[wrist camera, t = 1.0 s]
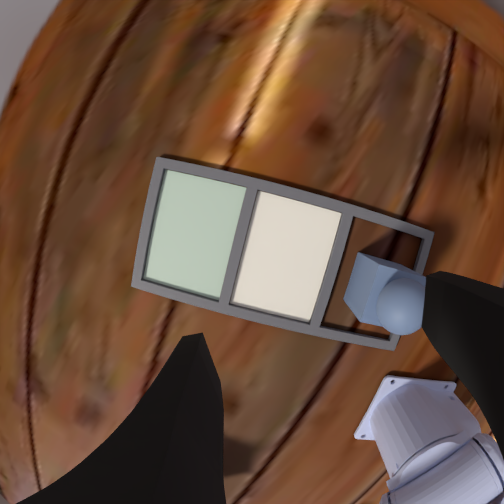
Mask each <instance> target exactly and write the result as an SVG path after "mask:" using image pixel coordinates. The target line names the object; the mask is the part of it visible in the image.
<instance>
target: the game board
mask: <svg viewBox="0 0 504 504" xmlns="http://www.w3.org/2000/svg"><path fill="white" fill-rule="evenodd" d="M165 169H168V170H165ZM170 170H173V171H170ZM175 171H178V172H175ZM180 172H183V173H180ZM184 173H187V174H184ZM189 174H192V175H189ZM194 175H197V176H194ZM198 176H201V177H198ZM203 177H206V178H203ZM207 178H210V179H207ZM212 179H214V180H212ZM216 180H219V181H216ZM162 181H163V182H162ZM220 181H223V182H220ZM225 182H227V183H225ZM229 183H232V184H229ZM233 184H236V185H233ZM161 185H162V186H161ZM237 185H240V186H237ZM242 186H244V187H242ZM246 187H247V189H246ZM160 189H161V190H160ZM257 190H260V191H258V193H257ZM262 191H264V192H262ZM245 192H246V193H245ZM266 192H268V193H266ZM270 193H272V194H270ZM256 194H257V197H256ZM273 194H276V195H273ZM277 195H280V196H277ZM244 196H245V197H244ZM281 196H284V197H281ZM285 197H287V198H285ZM158 198H159V199H158ZM255 198H256V201H255ZM289 198H291V199H289ZM292 199H295V200H292ZM296 200H299V201H296ZM300 201H302V202H300ZM254 202H255V205H254ZM304 202H306V203H304ZM307 203H309V204H307ZM311 204H313V205H311ZM314 205H317V206H314ZM253 206H254V209H253ZM318 206H320V207H318ZM156 207H157V208H156ZM321 207H324V208H321ZM325 208H327V209H325ZM328 209H331V210H328ZM252 210H253V213H252ZM332 210H334V211H332ZM335 211H338V212H335ZM155 212H156V213H155ZM339 212H341V213H342V214H341V213H339ZM251 214H252V216H251ZM353 216H354V217H358V218H361V219H364V220H367V221H371V222H374V223H377V224H380V225H383V226H386V227H390V228H393V229H396V230H399V231H402V232H405V233H408V234H411V235H414V236H417V237H420V238H422V240H421V244H420V248H419V251H418V255H417V258H416V261H415V265H414V268H413V271H415V272H417V273H419V274H421V275H422V274H423V271H424V268H425V265H426V261H427V258H428V254H429V251H430V247H431V244H432V240H433V236H434V232H432V231H429V230H427V229H424V228H421V227H418V226H415V225H413V224H410V223H407V222H404V221H401V220H398V219H395V218H392V217H389V216H386V215H383V214H380V213H377V212H374V211H371V210H367V209H364V208H361V207H358V206H355V205H351V204H348V203H345V202H342V201H338V200H335V199H331V198H328V197H325V196H321V195H318V194H314V193H310V192H307V191H303V190H300V189H296V188H292V187H289V186H285V185H281V184H277V183H273V182H269V181H265V180H261V179H257V178H253V177H249V176H245V175H241V174H237V173H232V172H228V171H224V170H219V169H215V168H210V167H206V166H201V165H196V164H191V163H186V162H182V161H177V160H171V159H166V158H161V157H157V158H156V161H155V165H154V169H153V174H152V178H151V182H150V186H149V191H148V195H147V200H146V204H145V209H144V214H143V219H142V224H141V229H140V235H139V240H138V246H137V252H136V258H135V264H134V270H133V277H132V284H131V287H134V288H137V289H141V290H144V291H147V292H150V293H153V294H157V295H160V296H163V297H167V298H170V299H173V300H177V301H180V302H183V303H187V304H190V305H194V306H197V307H201V308H205V309H208V310H212V311H216V312H219V313H223V314H227V315H230V316H234V317H238V318H242V319H246V320H250V321H254V322H258V323H262V324H266V325H270V326H274V327H279V328H283V329H287V330H291V331H296V332H300V333H305V334H309V335H314V336H319V337H323V338H328V339H333V340H338V341H343V342H348V343H353V344H358V345H364V346H369V347H374V348H380V349H386V350H392V351H394V350H395V348H396V345H397V343H398V340H399V338H400V335H397V334H393V333H390V336H389V338H388V339H384V338H379V337H374V336H369V335H364V334H359V333H354V332H349V331H344V330H339V329H335V328H330V327H325V326H321V325H320V324H321V321H322V318H323V315H324V312H325V309H326V306H327V303H328V300H329V297H330V294H331V291H332V287H333V284H334V281H335V278H336V275H337V271H338V268H339V265H340V261H341V258H342V254H343V251H344V247H345V244H346V240H347V237H348V233H349V229H350V226H351V222H352V218H353ZM340 217H341V218H340ZM250 218H251V220H250ZM339 221H340V222H339ZM249 222H250V224H249ZM338 225H339V226H338ZM152 226H153V227H152ZM248 226H249V228H248ZM236 228H237V229H236ZM337 228H338V229H337ZM247 230H248V232H247ZM235 232H236V233H235ZM336 232H337V233H336ZM246 234H247V236H246ZM234 236H235V237H234ZM335 236H336V237H335ZM150 237H151V238H150ZM245 238H246V240H245ZM334 239H335V240H334ZM233 240H234V241H233ZM149 242H150V243H149ZM244 242H245V244H244ZM333 243H334V244H333ZM232 244H233V245H232ZM243 246H244V248H243ZM332 246H333V248H332ZM148 247H149V248H148ZM231 248H232V249H231ZM242 250H243V252H242ZM331 250H332V251H331ZM230 252H231V253H230ZM147 253H148V254H147ZM330 253H331V255H330ZM241 254H242V256H241ZM329 257H330V258H329ZM240 258H241V260H240ZM328 260H329V261H328ZM239 262H240V264H239ZM145 264H146V265H145ZM327 264H328V265H327ZM238 266H239V268H238ZM326 267H327V268H326ZM226 269H227V270H226ZM144 270H145V271H144ZM237 270H238V272H237ZM325 270H326V272H325ZM225 273H226V274H225ZM236 274H237V276H236ZM324 274H325V275H324ZM224 277H225V278H224ZM323 277H324V278H323ZM235 278H236V280H235ZM322 280H323V281H322ZM152 281H153V282H152ZM155 282H156V283H155ZM234 282H235V284H234ZM162 284H163V285H162ZM321 284H322V285H321ZM169 286H170V287H169ZM233 286H234V288H233ZM172 287H173V288H172ZM320 287H321V288H320ZM179 289H180V290H179ZM221 290H222V291H221ZM232 290H233V292H232ZM319 290H320V291H319ZM186 291H187V292H186ZM193 293H194V294H193ZM318 293H319V294H318ZM197 294H198V295H197ZM220 294H221V295H220ZM231 294H232V297H231ZM204 296H205V297H204ZM317 297H318V298H317ZM211 298H212V299H211ZM219 298H220V299H219ZM230 298H231V301H230ZM215 299H216V300H215ZM316 300H317V301H316ZM229 302H230V303H231V304H230V303H229ZM315 303H316V304H315ZM234 304H235V305H234ZM314 306H315V307H314ZM245 307H246V308H245ZM249 308H250V309H249ZM253 309H254V310H253ZM313 309H314V310H313ZM257 310H258V311H257ZM261 311H262V312H261ZM265 312H266V313H265ZM312 312H313V313H312ZM269 313H270V314H269ZM273 314H274V315H273ZM311 315H312V316H311ZM286 317H287V318H286ZM290 318H291V319H290ZM310 318H311V319H310ZM294 319H295V320H294ZM303 321H304V322H303ZM309 321H310V322H309ZM307 322H308V323H307Z"/></svg>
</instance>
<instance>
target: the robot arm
mask: <svg viewBox="0 0 504 504" xmlns="http://www.w3.org/2000/svg"><path fill="white" fill-rule="evenodd" d="M421 327H422V328H423V330H424V332H425V333H426V335H427V337H428V338H429V340H430V342H431V343H432V345H433V346H434V348H435V349H436V351H437V352H438V353H439V354H440V356H441V357H442V358H443V359H444V360H445V362H446V363H447V364H448V365H449V367H450V368H451V369H452V370H453V371H454V373H455V374H456V375H457V376H458V378H459V379H460V380H461V381H462V383H463V384H464V385H465V386H466V388H467V389H468V390H469V391H470V393H471V394H472V396H473V397H474V399H475V400H476V402H477V404H478V405H479V407H480V409H481V411H482V412H483V414H484V416H485V418H486V420H487V422H488V424H489V426H490V428H491V430H492V432H493V434H494V436H495V439H496V441H497V443H496V441H495V440H494V439H493V438H492V437H491V436H490V435H488V434H484V433H482V434H481V429H480V425H479V423H478V421H477V419H476V418H475V417H474V416H473V415H472V413H471V412H470V411H469V410H468V409H467V408H466V406H465V405H464V404H463V403H462V402H461V401H460V399H459V398H458V397H457V396H456V395H455V394H454V390H455V388H456V383H455V382H449V381H437V380H427V379H417V378H408V377H400V376H392V375H387V376H385V377H384V379H383V380H382V382H381V385H380V387H379V389H378V391H377V393H376V395H375V397H374V399H373V400H372V402H371V404H370V406H369V408H368V410H367V412H366V414H365V416H364V417H363V419H362V421H361V423H360V425H359V426H358V428H357V430H356V432H355V433H354V437H355V438H356V439H365V440H375V441H376V443H377V446H378V448H379V451H380V453H381V456H382V458H383V461H384V463H385V466H386V469H387V471H388V474H389V476H390V479H389V480H388V481H387V482H386V483H387V486H388V488H389V491H390V492H387V493H385V494H383V495H382V497H381V501H380V503H379V504H504V289H503V288H500V287H496V286H493V285H490V284H487V283H483V282H480V281H477V280H474V279H470V278H467V277H464V276H460V275H456V274H452V273H448V272H443V271H439V272H436V273H433V274H430V275H427V276H426V286H425V298H424V308H423V317H422V325H421ZM392 380H394V381H393V382H391V381H392ZM445 386H446V387H445ZM223 427H224V409H223V399H222V390H221V382H220V379H219V376H218V374H217V371H216V368H215V366H214V363H213V360H212V358H211V355H210V352H209V349H208V347H207V344H206V341H205V338H204V335H203V333H198V334H193V335H188V336H183V337H182V338H181V340H180V341H179V343H178V344H177V346H176V347H175V349H174V351H173V352H172V354H171V355H170V357H169V359H168V360H167V362H166V363H165V365H164V366H163V368H162V370H161V371H160V373H159V374H158V376H157V377H156V379H155V380H154V382H153V383H152V385H151V386H150V388H149V389H148V390H147V392H146V393H145V394H144V396H143V397H142V398H141V400H140V401H139V402H138V404H137V405H136V406H135V408H134V409H133V410H132V412H131V413H130V414H129V415H128V416H127V418H126V419H125V420H124V421H123V422H122V423H121V424H120V426H119V427H118V428H117V429H116V430H115V431H114V432H113V433H112V434H111V435H110V436H109V437H108V438H107V439H106V440H105V441H104V442H103V443H102V444H101V445H100V446H99V447H98V448H97V449H95V450H94V451H93V452H92V453H91V454H90V455H89V456H88V457H87V458H85V459H84V460H83V461H82V462H81V463H80V464H78V465H77V466H76V467H75V468H73V469H72V470H71V471H69V472H68V473H67V474H65V475H64V476H62V477H61V478H60V479H58V480H57V481H55V482H54V483H52V484H51V485H49V486H47V487H46V488H44V489H42V490H41V491H39V492H37V493H35V494H33V495H32V496H30V497H28V498H26V499H24V500H22V501H20V502H18V503H16V504H226V499H225V491H224V480H223ZM362 435H363V436H362Z"/></svg>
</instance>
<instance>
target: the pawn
mask: <svg viewBox="0 0 504 504" xmlns="http://www.w3.org/2000/svg"><path fill="white" fill-rule="evenodd" d="M425 286H426V277H425V276H423V275H421V274H419V273H417V272H415V271H413V270H411V269H409V268H407V267H405V266H403V265H401V264H398V263H395V262H391V261H388V260H384V259H381V258H377V257H374V256H370V255H367V254H363V253H360V252H358V254H357V257H356V260H355V264H354V267H353V270H352V274H351V277H350V280H349V283H348V286H347V289H346V293H345V296H344V299H343V300H344V301H345V302H346V304H347V305H348V306H349V308H350V309H351V310H352V312H353V313H354V314H355V316H356V317H357V318H358V320H359V321H360V322H363V323H368V324H373V325H377V326H382V327H384V328H385V329H386V330H388V331H389V332H391V333H393V334H397V335H407V334H411V333H413V332H415V331H417V330H418V329H420V328H421V325H422V317H423V308H424V298H425Z"/></svg>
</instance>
